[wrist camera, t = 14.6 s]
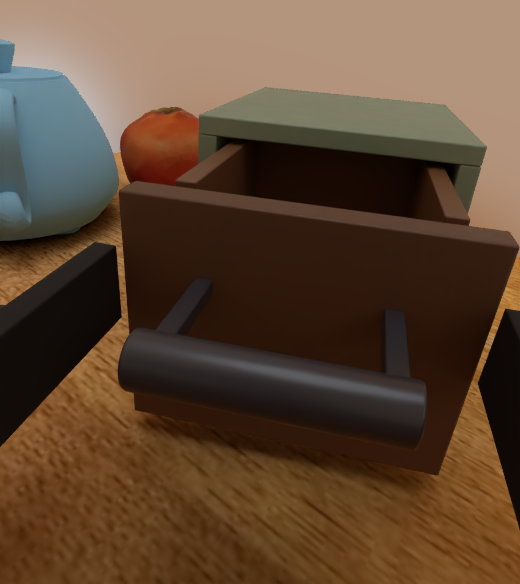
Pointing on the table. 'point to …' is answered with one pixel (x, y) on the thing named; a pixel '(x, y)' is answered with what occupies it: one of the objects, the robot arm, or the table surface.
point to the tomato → (160, 146)
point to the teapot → (49, 154)
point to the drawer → (310, 299)
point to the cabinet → (349, 129)
